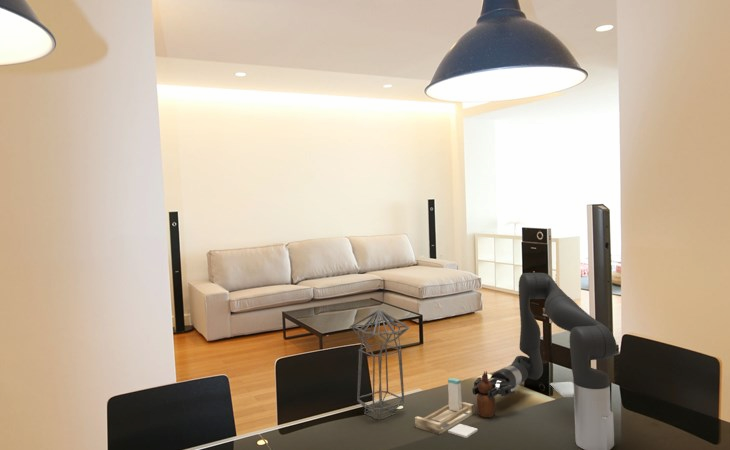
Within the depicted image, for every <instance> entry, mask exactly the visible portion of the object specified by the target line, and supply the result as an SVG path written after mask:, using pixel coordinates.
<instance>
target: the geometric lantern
mask: <svg viewBox="0 0 730 450" xmlns="http://www.w3.org/2000/svg"><path fill="white" fill-rule="evenodd" d="M367 319H368V320H367ZM366 320H367V321H366ZM364 321H366V322H365V323H364V324H360V323H361V322H364ZM381 323H382V324H383V329H384V331H383V332H380V328H381V327H380V326H381V325H380V324H381ZM398 324H399V325H398ZM386 325H387V326H388V328H389V329H390V331H391V332H388V330H387V326H386ZM373 326H374V328H373ZM359 327H360V328H359ZM348 328H351V329H352V330H353V331H354V332H355V334H356V335H357V336H358V340H359V341H360V340H361V341H360V348H359V349H358V350H357V351H358V365H357V366H358V371H357V394H356V395H357V396H356V398H357V399H356V400H357V402H358V404H360V405H361V407H363V408H364V411H363V412H364V415H365V414H366V416H367V417H370V416H371V417H370V418H372V417H373V419H375V420H377V419H378V421H379V420H380V419H381V420H384V419H386V418H389V417H391V415H392V416H394V415H396V414H397V409H398V408H399V407H400V406H402V405H404V404H405V392H404V374H403V373H404V372H403V356H402V348H401V342H400V336H402V335H403V334H404V333H406V332H407V331H408V330H409V329H410V326H409V325H407V324H406V323H404V322H402V321H400V320H398V319H397V318H395V317H393V316H392V315H390V314H389V313H387V312H385V311H384V310H381V309H380V310H375V311H374V312H372V313H370V314H369V315H367V316H365V317H363V318H362V319H360V320H358V321H356V322H354V323H353V324H350V325H349V327H348ZM368 328H370V331H368ZM377 328H378V330H377ZM396 328H398V330H397V331H395V329H396ZM401 328H402V329H401ZM357 330H358V331H357ZM376 331H378V332H377V333H376ZM360 332H361V333H362V336H361V335H360ZM366 335H369V336H368V337H366V338H365V336H366ZM384 335H386V337H385V336H384ZM392 335H393V337H394V338H392V339H391V337H392ZM373 336H375V337H376V338H377V340H378V341H379V342H380V343H377V344H373V345H369V343H368V340H369V339H370V338H372V337H373ZM378 336H380V337H381V338H382V339H384V340H385V341H386V342H385V343H383V342H382V341H381V339H379V337H378ZM397 339H398V343H397ZM364 342H365V344H366V346H363V343H364ZM391 342H394V343H395V347H394V346H391V345H390V344H388V343H391ZM398 345H399V346H398ZM376 346H379V347H380V349H379V350H380V351H379V353H378V354H374V352H373V351H372V348H371V347H376ZM382 346H383V347H382ZM387 347H389V348H391V349H395V350H397V351H393V352H389V353H388V348H387ZM367 348H368V350H369V351H370V352H369V353H368V352H367V351H364V350H363V349H367ZM384 349H385V351H384ZM383 351H384V352H385V353H384V354H383ZM363 353H364V354H367V355H368V356H371V357H372V392H371V393H368V394H367V393H366V394H364V395H363V394H362V395H361V383H362V380H361V379H362V369H363V368H362V365H363ZM392 354H393V355H394V354H397V357H398V365H399V366H398V367H399V377H400V378H399V381H400V388H401V389H400V390H401V396H398V395H397V394H395V393H392V392H390V391H389V376H388V375H389V373H388V372H389V371H388V355H392ZM384 356H385V376H386V377H385V380H386V381H385V382H386V383H385V384H386V390H382V363H383V362H382V357H384ZM376 357H377V358H378V360H377V361H378V377H379V378H378V381H379V382H378V383H379V385H378V386H379V387H378V391H375V378H376V377H375V367H376V364H375V363H376V361H375V360H376V359H375V358H376ZM383 393H385V394H384V396H383V395H382V394H383ZM375 394H378V401H375ZM387 394H388V395H391V396H393V397H396V398H398V399H400V401H399V402H398V403H395V404H391V403H389V402H386V401H384V400H385V399H386V396H387ZM371 395H372V403H370V404H367V403H365V402H364V401H362V400H361V399H362V398H365V397H368V396H371ZM377 403H378V406H377V407H375V404H377ZM384 404H386V405H388V406H384ZM393 407H394V408H393ZM379 410H380V412H378V411H379ZM383 410H385V411H383ZM370 412H372V413H375V414H377V417H375V416H373V415H370V414H369V413H370ZM387 412H392V413H391V414H389V415H386V416H384V417H383V414H385V413H387Z"/></svg>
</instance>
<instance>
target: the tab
mask: <svg viewBox="0 0 730 450" xmlns="http://www.w3.org/2000/svg"><path fill="white" fill-rule="evenodd" d="M461 381H462V380H461V379H459V378H454V377H450V378H448V379H447V388H448V400H449V410H453V411H457V412H458V411H460V410H461V409H462V402H463V401H462V386H461V385H462V383H461Z"/></svg>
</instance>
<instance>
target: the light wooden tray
mask: <svg viewBox="0 0 730 450" xmlns="http://www.w3.org/2000/svg"><path fill="white" fill-rule="evenodd" d="M461 402H462V409H461V410H460V411H458V412H457V411H453V410H449V399H448V400H447V403H448V404H446V405H445V406H443V407H441V408H439V409H438V410H436V411H433V412H432V413H430V414H428V415H426V416H424V417H421V416H419V415H418V416H415V417H414V425H415V428H418V429H420V430H423V431H425V432H428V433H429V432H430V433H432V434H436V435H441V434H443V433H445V432H446V431H448V430H450V429H451V428H453V427H455V426H456V425H458V424H460V423H461V422H462V421H464V420H466V419H467V418H469V417H471V416H473V415H474V414H475V408H474V407H475V404H473V403H469V402H465V401H461Z"/></svg>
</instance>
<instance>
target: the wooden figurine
mask: <svg viewBox="0 0 730 450" xmlns="http://www.w3.org/2000/svg"><path fill="white" fill-rule="evenodd" d="M483 372H484V373H482V375H481V379H482V381H480V382H479V383H478V390H479V393H478V394H476V407H477V412H478V414H479V415H480V417H483V418H491V417H493V416H494V414H495V409H496V400H495V399H496V398H495V396H494V397H492V398H488V391H489V390H491V389H493V388H492V383H491V382H490V381H488V379H489V378H488V377H489V376H488V375H489V374H488V371H487V370H486V371H483Z"/></svg>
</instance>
